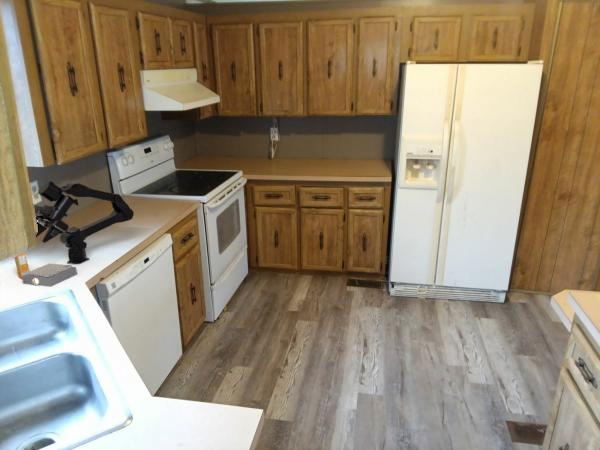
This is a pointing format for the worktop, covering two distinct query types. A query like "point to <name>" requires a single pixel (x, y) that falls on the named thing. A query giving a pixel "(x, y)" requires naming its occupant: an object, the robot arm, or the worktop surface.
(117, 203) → the robot arm
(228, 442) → the worktop surface
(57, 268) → the pan
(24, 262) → the supplement box
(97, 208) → the worktop surface
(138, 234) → the worktop surface
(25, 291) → the worktop surface
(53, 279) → the kitchen scale
